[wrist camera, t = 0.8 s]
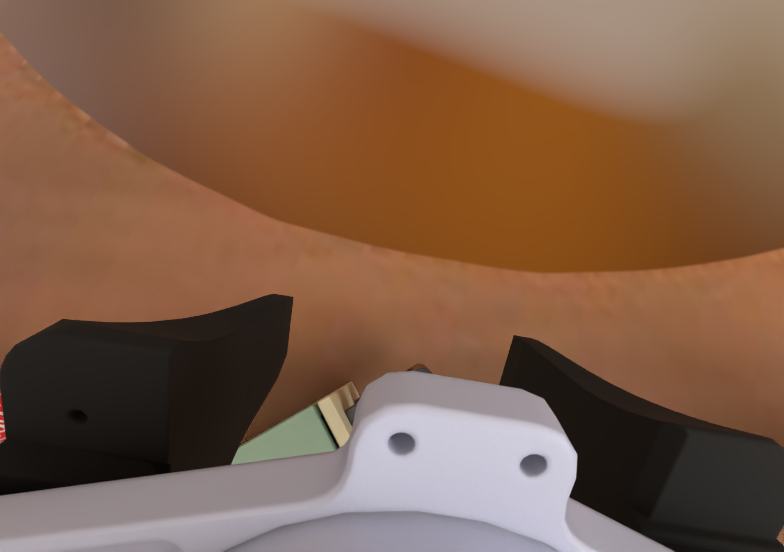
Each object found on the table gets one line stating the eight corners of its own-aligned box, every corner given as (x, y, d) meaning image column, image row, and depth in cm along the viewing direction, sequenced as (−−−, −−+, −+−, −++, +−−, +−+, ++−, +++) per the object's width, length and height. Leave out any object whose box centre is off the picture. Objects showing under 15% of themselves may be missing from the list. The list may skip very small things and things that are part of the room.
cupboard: (340, 387, 34) (311, 404, 24) (440, 575, 32) (456, 687, 21) (229, 451, 34) (150, 498, 23) (322, 647, 31) (279, 798, 21)
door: (413, 345, 34) (416, 344, 24) (518, 528, 32) (570, 613, 22) (343, 385, 34) (316, 402, 24) (443, 574, 32) (460, 682, 21)
